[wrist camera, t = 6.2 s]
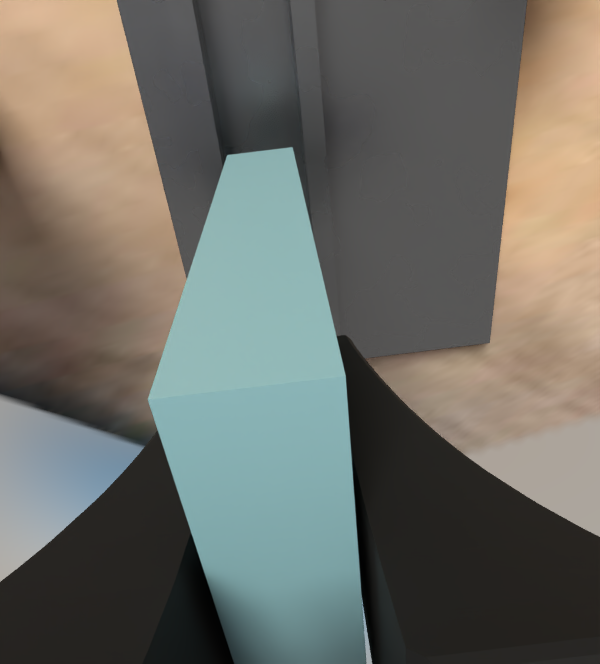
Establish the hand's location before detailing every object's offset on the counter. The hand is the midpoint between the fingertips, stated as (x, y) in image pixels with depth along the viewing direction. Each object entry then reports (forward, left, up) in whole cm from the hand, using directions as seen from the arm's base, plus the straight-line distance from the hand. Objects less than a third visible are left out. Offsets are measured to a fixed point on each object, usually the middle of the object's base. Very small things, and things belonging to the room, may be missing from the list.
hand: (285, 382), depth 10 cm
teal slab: (0, 0, -4) cm, 4 cm away
